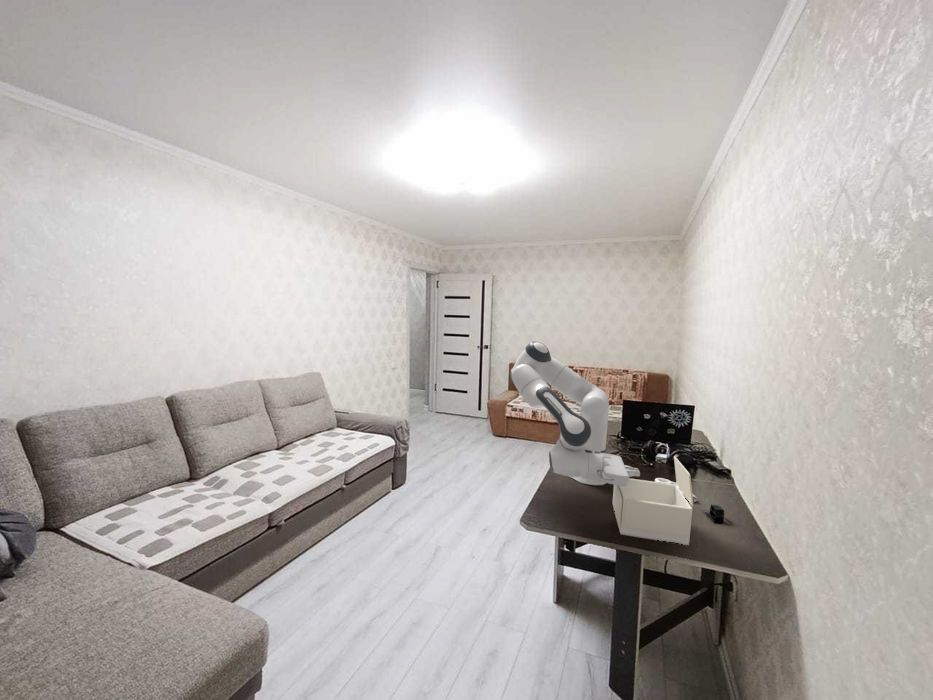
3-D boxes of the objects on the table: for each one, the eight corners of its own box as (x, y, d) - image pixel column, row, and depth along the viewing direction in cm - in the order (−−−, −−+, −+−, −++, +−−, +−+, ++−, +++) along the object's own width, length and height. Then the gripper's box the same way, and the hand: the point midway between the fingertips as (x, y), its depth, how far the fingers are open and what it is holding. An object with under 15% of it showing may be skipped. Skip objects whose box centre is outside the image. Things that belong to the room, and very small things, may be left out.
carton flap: (673, 456, 138) (675, 456, 138) (676, 484, 138) (677, 484, 138) (688, 474, 121) (690, 474, 121) (692, 506, 121) (693, 506, 121)
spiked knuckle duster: (700, 507, 150) (659, 502, 152) (682, 487, 167) (645, 483, 170) (701, 499, 149) (660, 494, 152) (682, 480, 167) (646, 476, 169)
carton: (611, 507, 145) (614, 476, 144) (672, 517, 140) (675, 484, 139) (618, 535, 126) (621, 499, 125) (689, 546, 121) (693, 509, 120)
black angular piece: (698, 510, 148) (699, 498, 147) (719, 512, 147) (720, 500, 146) (713, 527, 136) (714, 514, 135) (736, 529, 135) (737, 517, 134)
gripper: (599, 468, 126) (646, 475, 122) (594, 449, 145) (634, 453, 142) (598, 487, 126) (644, 494, 123) (593, 465, 146) (633, 470, 143)
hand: (639, 472), depth 133 cm, fingers closed
